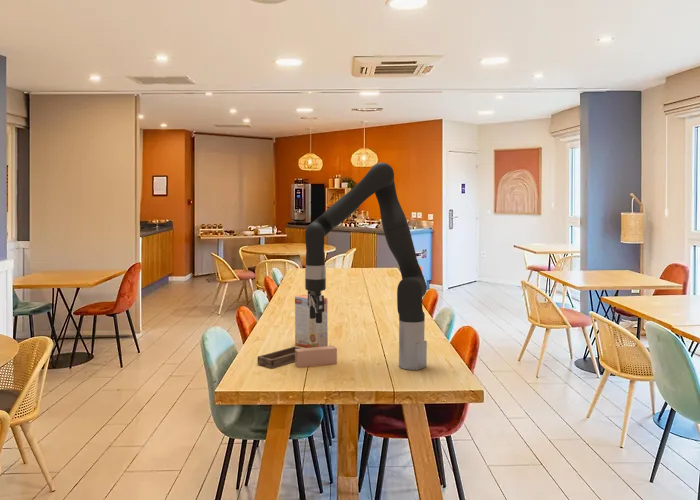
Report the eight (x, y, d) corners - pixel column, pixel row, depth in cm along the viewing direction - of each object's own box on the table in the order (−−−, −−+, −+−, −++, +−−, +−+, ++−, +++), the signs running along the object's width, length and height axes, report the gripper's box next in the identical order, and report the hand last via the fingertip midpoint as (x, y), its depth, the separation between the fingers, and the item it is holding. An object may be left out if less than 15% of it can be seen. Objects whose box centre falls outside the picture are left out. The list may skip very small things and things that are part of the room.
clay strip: (333, 361, 219) (333, 345, 219) (336, 364, 216) (336, 348, 215) (295, 364, 215) (294, 348, 214) (297, 367, 211) (297, 351, 210)
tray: (309, 357, 224) (309, 349, 223) (272, 368, 209) (272, 360, 209) (294, 353, 229) (294, 346, 229) (257, 364, 215) (257, 356, 214)
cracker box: (328, 348, 238) (328, 297, 236) (317, 350, 233) (317, 299, 231) (305, 342, 247) (304, 293, 245) (294, 344, 243) (294, 295, 241)
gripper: (331, 279, 207) (331, 324, 208) (320, 274, 220) (320, 316, 222) (310, 280, 205) (310, 325, 206) (300, 275, 218) (301, 317, 219)
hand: (315, 320), depth 214 cm, fingers open, 8 cm apart
